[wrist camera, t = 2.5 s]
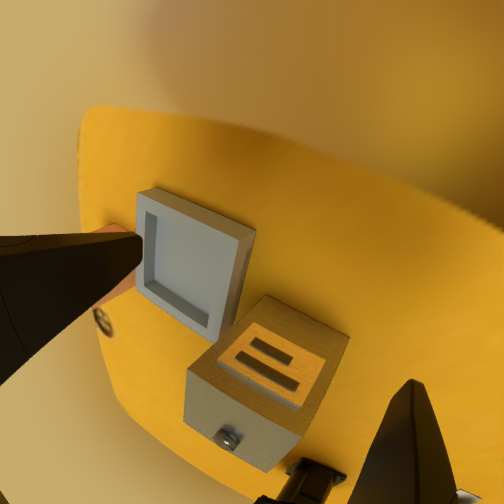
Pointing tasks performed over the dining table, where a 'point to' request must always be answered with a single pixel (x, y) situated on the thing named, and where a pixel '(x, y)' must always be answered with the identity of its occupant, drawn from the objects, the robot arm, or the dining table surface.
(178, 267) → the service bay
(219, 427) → the junction box
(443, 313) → the dining table surface
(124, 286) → the block
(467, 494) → the condiment
